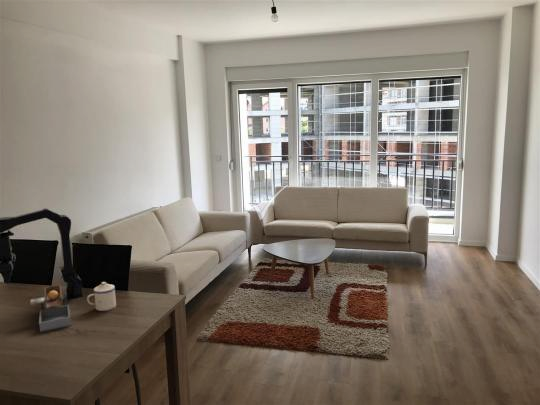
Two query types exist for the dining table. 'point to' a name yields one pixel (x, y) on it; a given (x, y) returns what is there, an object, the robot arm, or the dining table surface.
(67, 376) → the dining table surface
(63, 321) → the bin
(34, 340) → the dining table surface
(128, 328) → the dining table surface
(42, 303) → the stand
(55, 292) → the ball
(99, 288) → the teacup with lid
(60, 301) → the chute
